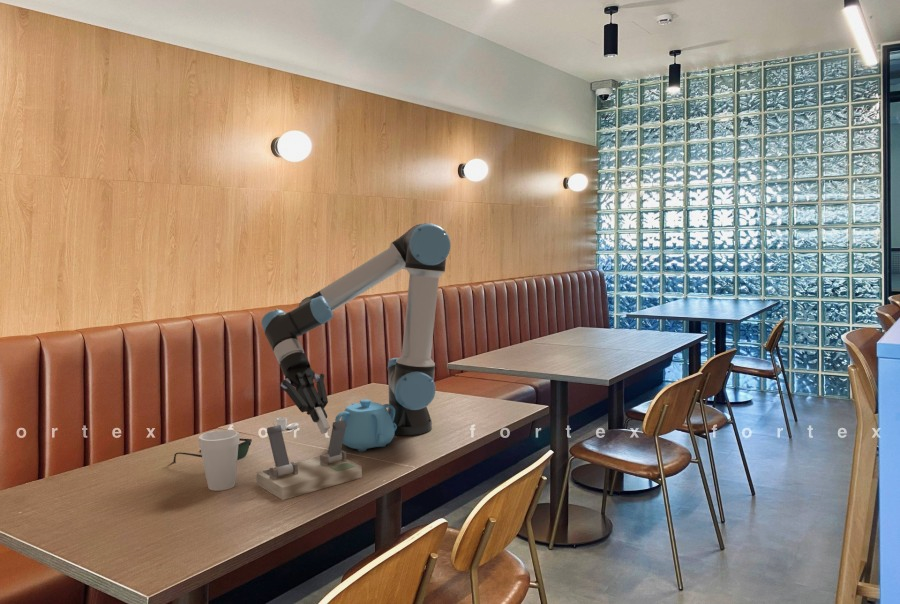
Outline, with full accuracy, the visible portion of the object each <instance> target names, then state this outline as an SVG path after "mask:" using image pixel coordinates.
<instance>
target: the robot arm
mask: <svg viewBox="0 0 900 604" xmlns="http://www.w3.org/2000/svg"><path fill="white" fill-rule="evenodd" d="M450 251H451V239H450V236H449V234H448V233H447V231H446V230H445V229H444V228H442V226H440V225H438V224H435V223H431V222H424V223H420V224H416V225H414V226H412V227H411V228H409V229H408V230H406V232H405V233H403V234H402V235H401V236H399V237H398V238H397V239H395V240H393V241H392V242H390V244H389V247H388V248H386V250H383V251H381V252H380V253H379V254H377V255H375V256H374V257H372V258H370V259H368V260H367V261H366V262H364V263H362V264H361V265H359V266H357V267H356V268H354V269H353V270H351V271H349V272H347V273H346V274H344V275H343V276H341V277H339V278H338V279H336V280H334V281H333V282H331V283H329V284H328V285H327V286H325V287H323V288H321V289H320V290H319V291H317V292H315V293H314V294H312V295H310V296H307V297H304V298H303V299H302V300H301V301H300V302H299V304H298V307H296V308H294V309H291V311H288V312H285V311H284V310H282V309H275V310H270V311H269V312H267V313H265V314H264V316H263V317H262V318H261V322H260V323H261V326H262V329H263V331H264V335H265V337H266V339H267V341H268V343H269V345H270V347H271V349H272V351H273V354H274V356H275V357H276V360H277V362H278V364H279V367H280V369H281V371H282V374H283V375H284V376H285V377H284V379H283V380H282V381H281V383H280V385H279V388H280V389H282V390H283V391H285V392H286V394H287V395H288V397H289V398H290V399H291V401H292V402H293V403H294V404H295V406H296V408H298V410H299V411H300V412H301V413H305V412H306V415H309V416H310V418H311V420H312V422H313V423H316V425H317V427H318V429H319V432H320V433H321V434H322V435H324V434H326V433H328V432H329V429H330V428H331V426H330V424H329V422H328V419H327V418H328V415H327V411H326V410H325V407H326V406H327V405H328V404H329V399H328V396H327V395H328V394H327V390H326V385H325V382H324V381H325V374H324V373H320V374H318V373H316V372H315V371H314V370H313V368H312V367H311V364H310V361H309V358H308V357H307V355H306V353H305V350H304V348H303V346H302V344H301V342H300V341H299V338H298V337H300V336H302V335H304V334H307V333H308V332H310V331H312V330H314V329H317V328H318V327H319V326H321V325H324V324H326V323H327V322H329V321H331V320H332V319H333V318H334V313H333V312H334V311H336V310H337V309H339V308H340V307H342V306H344V305H345V304H347V303H349V302H351V301H352V300H354V299H355V298H357V297H358V296H360V295H362V294H364V293H366V292H367V291H369V290H370V289H372V288H374V287H375V286H376V285H378V284H380V283H381V282H384V281H385V280H387V279H388V278H389V277H391V276H393V275H395V274H397V273H398V272H400V271H401V270H406V271H407V272H408V274H409V279H408V288H407V299H406V310H405V318H404V319H405V320H404V329H403V338H402V339H403V340H402V348H401V349H402V350H401V355H400V356H399V357H393V358H389V359H388V362H387V373H388V374H387V376H388V383H387V385H388V404H390V405H392V406H393V407H394V408H395V417H394V420H393V423H395V424H396V425H397V429H396V430H395V434H394V436H416V435H422V434H425V433H428V432H430V431H431V430H432V429H433V426H432V425H433V422H432V418H431V415H430V413H429V410H428V406H429V405H430V404H431V403H432V401H433V400H434V399H435V395H436V390H437V389H436V383H435V381H434V379H435V368H436V363H435V362H434V360H433V359H432V350H433V347H432V346H433V339H434V338H433V336H434V329H435V319H436V318H435V317H436V310H437V309H436V308H437V301H438V300H437V299H438V291H439V279H440V277H441V276H442V275H443V274H444V273H445V271H446V265H447V264H446V262H447V258H448V256H449V254H450ZM314 381H315V382H314ZM315 384H316V387H315ZM387 411H388V413H389V415H391V409H390V408H387Z"/></svg>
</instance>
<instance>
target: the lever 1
mask: <svg viewBox="0 0 900 604" xmlns="http://www.w3.org/2000/svg"><path fill="white" fill-rule="evenodd" d="M282 432H283V431H282V428H281V426H280V425H278V426H277V425H275V426H274V425H273V426H270V427H267V428H266V433H267V436H268V440H269V443H270V444H269V445H270V449H271V452H272V457H273V461H274V467H273V468H274V469H276V470H277V477H278V476H282V475H286V474H290V473H293V465H292V464H291V463H292V462H290V460H289V456H288V452H287V448H286V444H285V440H284V437H283V433H282Z"/></svg>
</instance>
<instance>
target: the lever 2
mask: <svg viewBox="0 0 900 604" xmlns="http://www.w3.org/2000/svg"><path fill="white" fill-rule="evenodd" d="M331 425H332V428H331V433H330V434H331V435H330V438H329V444H328V450H327V454H324V456H326V457H327V458H328V463H332V462H336V461H340V460H342V453H341V450H342V449H343V448H342V447H343V445H344V444H343V438H344V433H345V428H346V427H347V423H346V421H345V420H342V421H337V422H335V421H334V422H332V424H331Z"/></svg>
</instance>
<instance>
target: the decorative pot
mask: <svg viewBox="0 0 900 604" xmlns="http://www.w3.org/2000/svg"><path fill="white" fill-rule="evenodd" d="M388 408H390V409H391V415H389V413H388ZM394 417H395V408H394V407H393V406H392V405H390V404H389V403H383V404H381V403H378V402H372V400H371V399H370V398H369V399H367V398H365V399H360V401H359V403H355V402H354V403H352V404H351V405H348V406H346V407H345V410H344V411H341V412H339V413H338V414H337V415H336V416H335V421H334V422H337V421H342V420H345V421H346V423H347V427H346V428H345V433H344V438H343V444H342V445H345V446H346V447H348V448H350V449H353V450H354V449H355V450H357V452H361V451H362V452H366V451H367V450H368V449H372V448H385V447H387V445H389V444H390V443H391V442H392V441H393V439H394V437H395V435H394V434H395V430H396V429H397V425H396V424H395V423H393V420H394Z"/></svg>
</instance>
